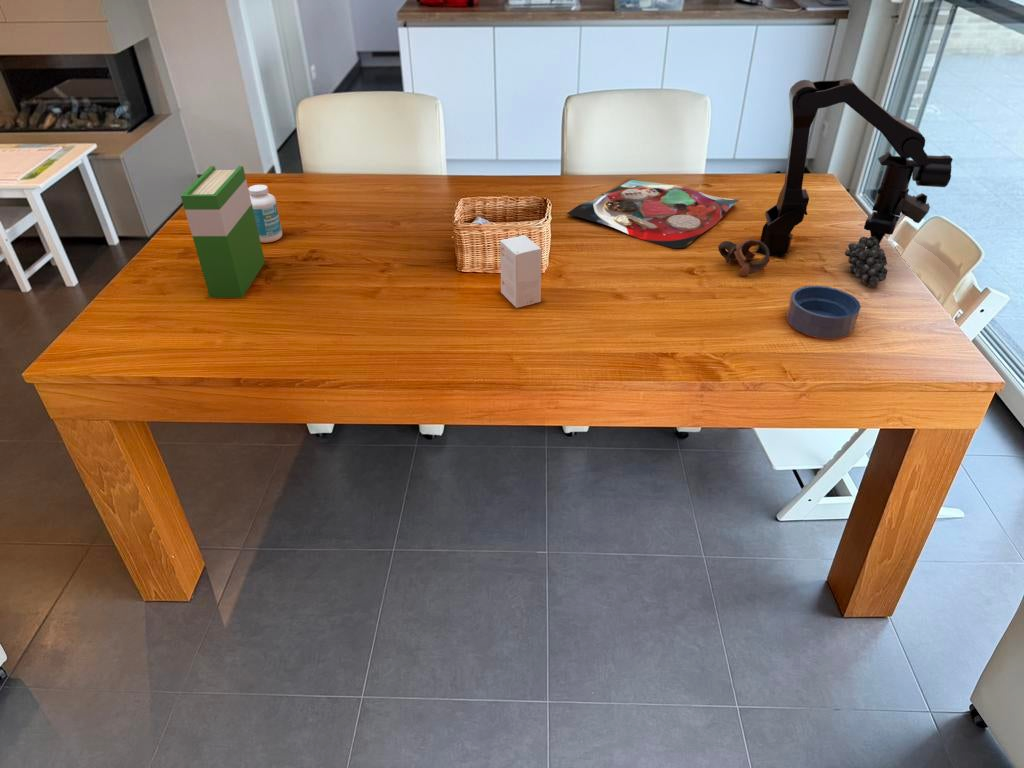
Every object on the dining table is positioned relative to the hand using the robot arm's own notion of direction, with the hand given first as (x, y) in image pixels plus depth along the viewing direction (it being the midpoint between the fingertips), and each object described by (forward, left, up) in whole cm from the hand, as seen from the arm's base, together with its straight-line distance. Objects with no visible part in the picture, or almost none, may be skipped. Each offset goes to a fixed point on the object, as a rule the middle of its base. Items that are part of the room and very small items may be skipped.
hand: (875, 246), depth 177 cm
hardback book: (-126, -86, -3) cm, 153 cm away
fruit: (0, -12, -3) cm, 12 cm away
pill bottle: (-137, -66, -3) cm, 152 cm away
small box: (-64, -60, -3) cm, 88 cm away
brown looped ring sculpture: (-26, -21, -3) cm, 33 cm away
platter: (-57, -1, -3) cm, 57 cm away
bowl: (-4, -38, -3) cm, 38 cm away
